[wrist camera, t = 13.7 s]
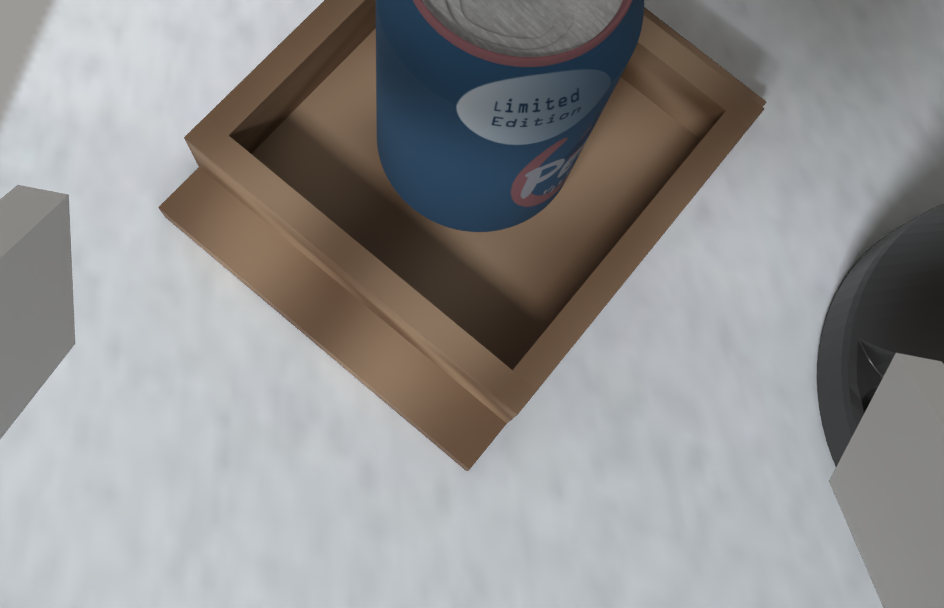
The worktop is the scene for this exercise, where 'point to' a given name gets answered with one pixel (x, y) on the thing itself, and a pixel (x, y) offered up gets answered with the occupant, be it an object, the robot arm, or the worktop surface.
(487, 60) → the soda can
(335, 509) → the worktop surface
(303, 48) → the wooden tray
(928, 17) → the worktop surface
